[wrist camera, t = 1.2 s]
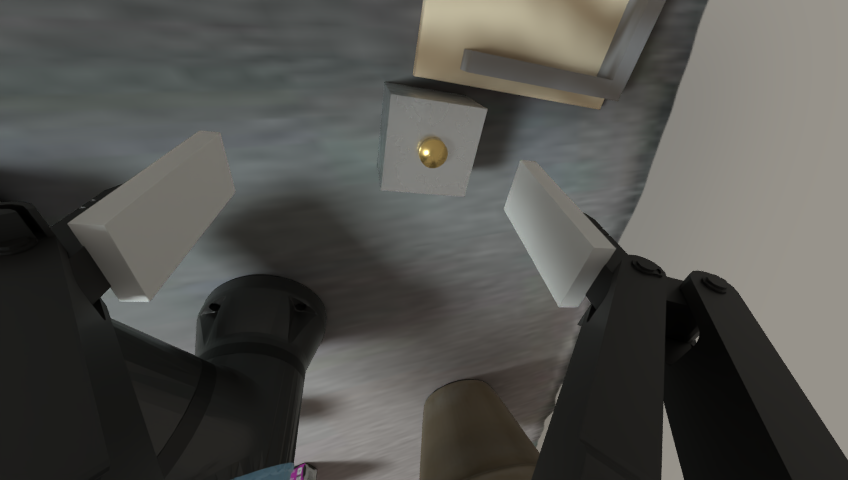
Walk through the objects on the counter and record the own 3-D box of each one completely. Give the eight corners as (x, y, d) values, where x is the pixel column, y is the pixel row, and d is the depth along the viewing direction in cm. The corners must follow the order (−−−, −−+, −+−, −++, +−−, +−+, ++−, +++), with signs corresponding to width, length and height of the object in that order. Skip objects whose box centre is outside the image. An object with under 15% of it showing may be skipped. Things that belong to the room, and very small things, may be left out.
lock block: (448, 171, 35) (466, 200, 29) (376, 164, 33) (381, 194, 27) (464, 94, 31) (491, 111, 25) (384, 81, 29) (391, 95, 23)
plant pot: (530, 353, 59) (604, 492, 41) (505, 419, 73) (552, 543, 55) (399, 371, 55) (420, 535, 37) (399, 437, 68) (414, 579, 51)
